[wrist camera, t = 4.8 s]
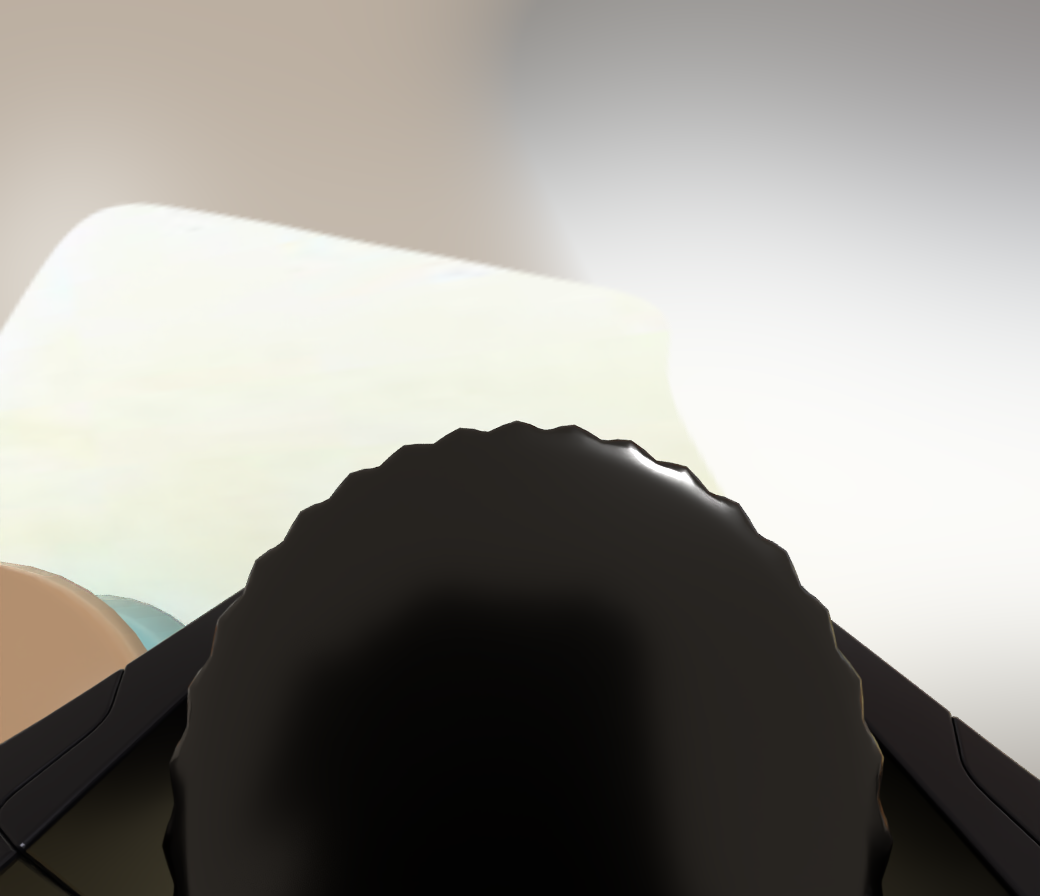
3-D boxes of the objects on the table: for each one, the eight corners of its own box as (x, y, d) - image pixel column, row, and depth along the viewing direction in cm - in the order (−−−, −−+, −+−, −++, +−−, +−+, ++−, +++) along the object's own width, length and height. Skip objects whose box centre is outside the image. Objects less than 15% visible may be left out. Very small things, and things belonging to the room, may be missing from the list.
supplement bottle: (437, 749, 13) (-168, 1805, 2) (415, 523, 15) (42, 367, 4) (661, 710, 14) (1393, 1508, 2) (612, 490, 15) (835, 236, 4)
